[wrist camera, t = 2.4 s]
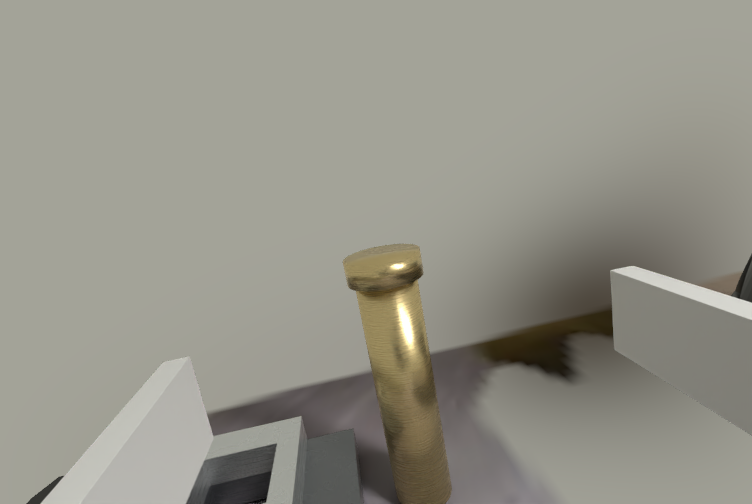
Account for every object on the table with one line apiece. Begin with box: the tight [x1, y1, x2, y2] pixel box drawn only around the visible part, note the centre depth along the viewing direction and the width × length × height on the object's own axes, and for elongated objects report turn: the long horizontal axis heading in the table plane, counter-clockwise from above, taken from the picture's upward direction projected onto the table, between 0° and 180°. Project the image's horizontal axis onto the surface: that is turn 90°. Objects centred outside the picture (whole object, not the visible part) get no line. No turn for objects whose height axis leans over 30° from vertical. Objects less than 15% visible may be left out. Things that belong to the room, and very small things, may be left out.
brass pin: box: [343, 244, 452, 504], centre depth 25 cm, size 4×4×16 cm
